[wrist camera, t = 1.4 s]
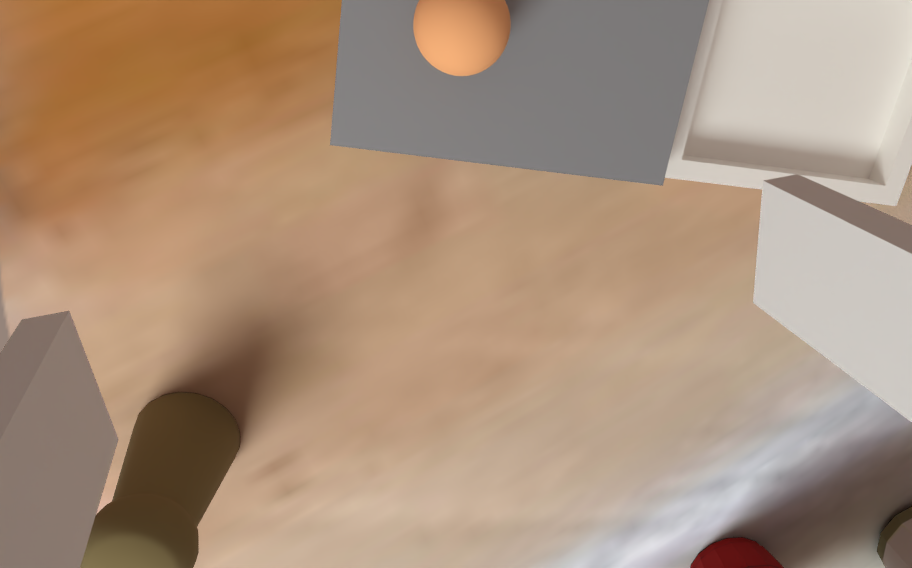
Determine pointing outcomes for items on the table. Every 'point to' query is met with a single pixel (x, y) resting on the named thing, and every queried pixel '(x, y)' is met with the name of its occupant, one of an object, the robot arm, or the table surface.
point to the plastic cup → (735, 555)
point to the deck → (525, 87)
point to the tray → (800, 96)
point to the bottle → (897, 541)
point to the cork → (165, 485)
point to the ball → (461, 33)
